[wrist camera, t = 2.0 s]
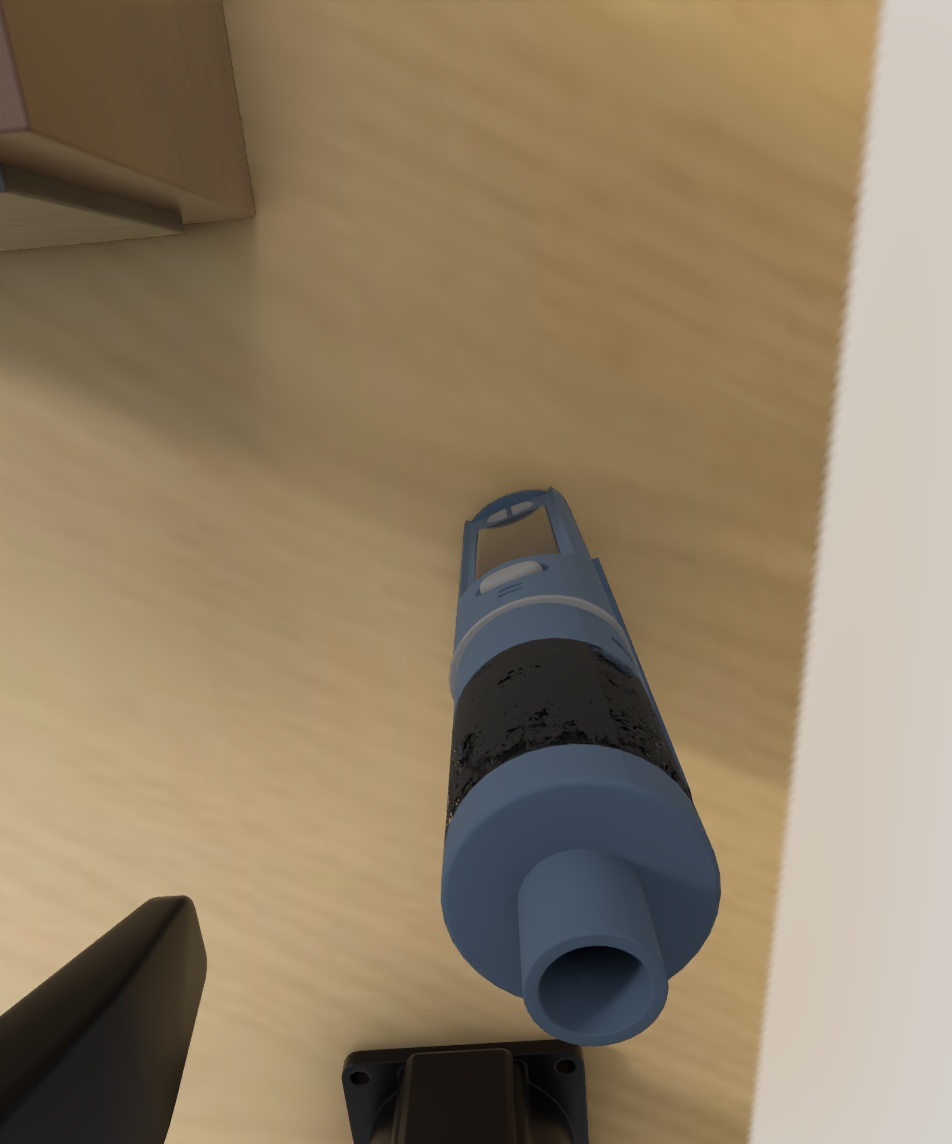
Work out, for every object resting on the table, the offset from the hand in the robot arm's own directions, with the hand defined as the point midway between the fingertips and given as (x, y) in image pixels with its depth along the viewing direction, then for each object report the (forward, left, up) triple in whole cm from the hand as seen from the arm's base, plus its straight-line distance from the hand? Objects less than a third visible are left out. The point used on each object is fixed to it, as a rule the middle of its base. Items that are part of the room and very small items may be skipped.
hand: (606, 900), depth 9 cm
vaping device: (0, 0, -10) cm, 10 cm away
